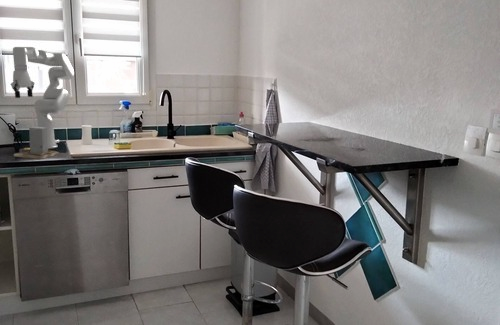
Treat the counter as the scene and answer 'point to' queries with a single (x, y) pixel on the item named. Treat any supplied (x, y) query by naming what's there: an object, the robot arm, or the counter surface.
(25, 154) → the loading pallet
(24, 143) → the counter surface
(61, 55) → the robot arm
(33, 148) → the skincare box
